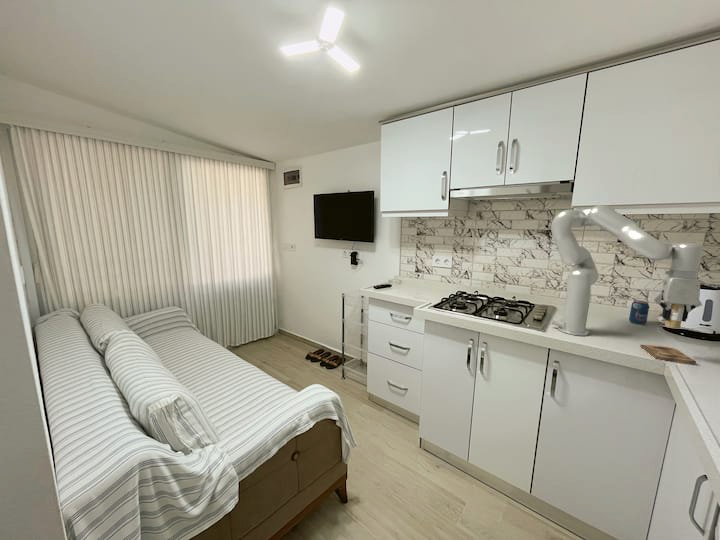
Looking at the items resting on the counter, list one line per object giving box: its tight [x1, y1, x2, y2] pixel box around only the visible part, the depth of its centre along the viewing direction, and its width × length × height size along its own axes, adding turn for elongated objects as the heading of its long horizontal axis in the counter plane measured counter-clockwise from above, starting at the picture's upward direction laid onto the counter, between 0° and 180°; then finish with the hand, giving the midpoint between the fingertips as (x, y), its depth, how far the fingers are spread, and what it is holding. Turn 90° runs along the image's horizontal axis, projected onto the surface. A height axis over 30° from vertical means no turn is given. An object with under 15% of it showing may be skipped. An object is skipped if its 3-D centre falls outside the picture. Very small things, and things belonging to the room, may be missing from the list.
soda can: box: [628, 300, 650, 326], centre depth 162 cm, size 7×7×12 cm
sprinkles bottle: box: [664, 304, 685, 330], centre depth 120 cm, size 5×5×14 cm
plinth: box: [639, 344, 697, 366], centre depth 123 cm, size 12×12×2 cm
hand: (673, 319), depth 120 cm, fingers closed on sprinkles bottle, 4 cm apart
